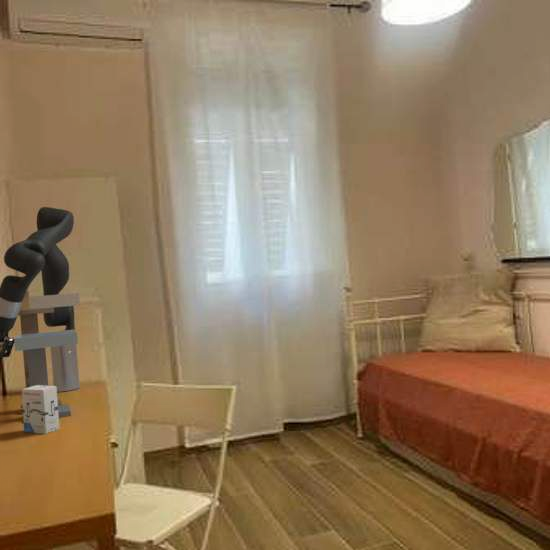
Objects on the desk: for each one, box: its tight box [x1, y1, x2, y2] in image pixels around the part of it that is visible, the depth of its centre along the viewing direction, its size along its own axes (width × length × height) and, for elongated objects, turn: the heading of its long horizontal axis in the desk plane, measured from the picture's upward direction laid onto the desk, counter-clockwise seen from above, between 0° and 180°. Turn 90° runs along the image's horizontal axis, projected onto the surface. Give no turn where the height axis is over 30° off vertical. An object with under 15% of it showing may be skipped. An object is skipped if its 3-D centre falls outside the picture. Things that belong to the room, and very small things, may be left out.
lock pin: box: [20, 290, 81, 310], centre depth 191 cm, size 6×18×6 cm, turn 112°
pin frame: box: [14, 329, 79, 419], centre depth 178 cm, size 14×17×24 cm
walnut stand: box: [17, 307, 63, 415], centre depth 189 cm, size 9×12×32 cm
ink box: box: [21, 385, 60, 435], centre depth 158 cm, size 9×5×12 cm, turn 62°
